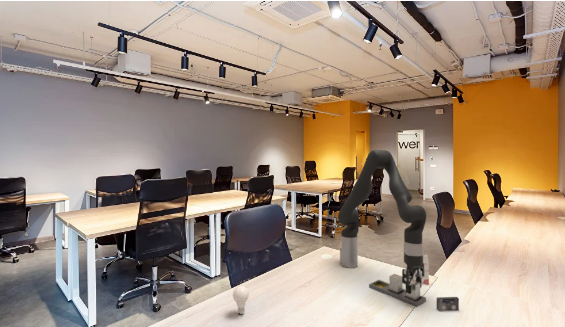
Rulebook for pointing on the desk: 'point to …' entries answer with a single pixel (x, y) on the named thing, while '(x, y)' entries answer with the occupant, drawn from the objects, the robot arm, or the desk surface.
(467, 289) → the desk surface
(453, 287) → the desk surface
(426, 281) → the ink cartridge box
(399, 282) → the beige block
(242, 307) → the lightbulb
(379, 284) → the rail
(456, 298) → the mini dv tape
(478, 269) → the desk surface
